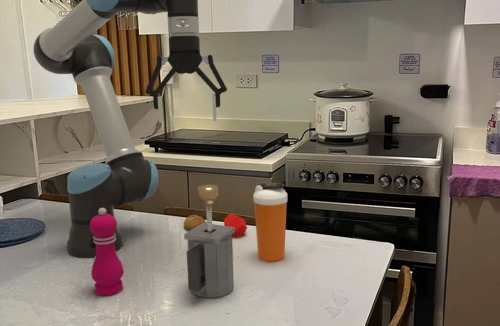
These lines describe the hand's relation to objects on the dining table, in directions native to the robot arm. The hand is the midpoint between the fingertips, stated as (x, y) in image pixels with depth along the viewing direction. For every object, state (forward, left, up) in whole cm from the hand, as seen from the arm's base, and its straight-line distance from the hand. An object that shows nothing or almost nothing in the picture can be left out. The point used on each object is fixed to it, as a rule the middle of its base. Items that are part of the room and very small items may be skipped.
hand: (188, 121), depth 134 cm
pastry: (-12, +20, -37) cm, 44 cm away
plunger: (+14, -15, -32) cm, 38 cm away
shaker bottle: (+19, +8, -37) cm, 42 cm away
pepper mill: (-8, -25, -37) cm, 45 cm away
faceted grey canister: (+14, -16, -37) cm, 43 cm away
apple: (+2, +20, -37) cm, 42 cm away
